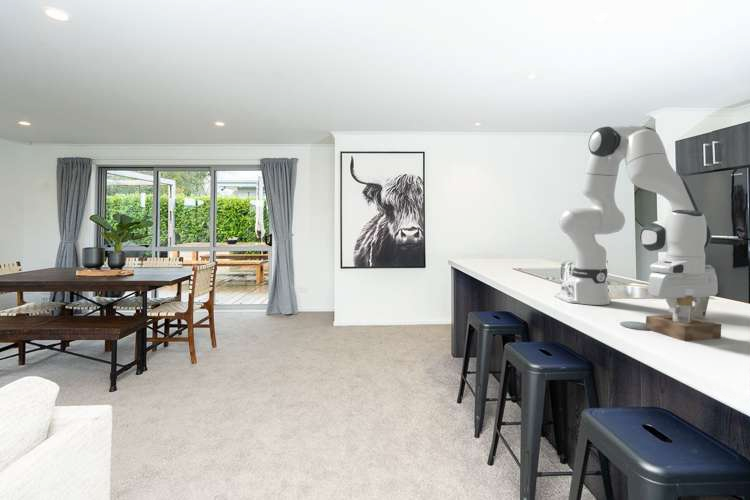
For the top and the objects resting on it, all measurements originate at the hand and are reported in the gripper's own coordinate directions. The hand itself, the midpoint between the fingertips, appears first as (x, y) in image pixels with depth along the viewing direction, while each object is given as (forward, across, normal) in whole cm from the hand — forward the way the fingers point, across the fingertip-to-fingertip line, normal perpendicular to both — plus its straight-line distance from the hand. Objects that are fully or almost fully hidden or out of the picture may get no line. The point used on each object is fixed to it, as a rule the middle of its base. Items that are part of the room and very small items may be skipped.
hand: (682, 312), depth 107 cm
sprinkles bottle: (+6, 0, 0) cm, 6 cm away
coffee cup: (+7, -22, -14) cm, 27 cm away
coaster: (+6, +6, -9) cm, 12 cm away
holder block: (+6, 0, 0) cm, 6 cm away
